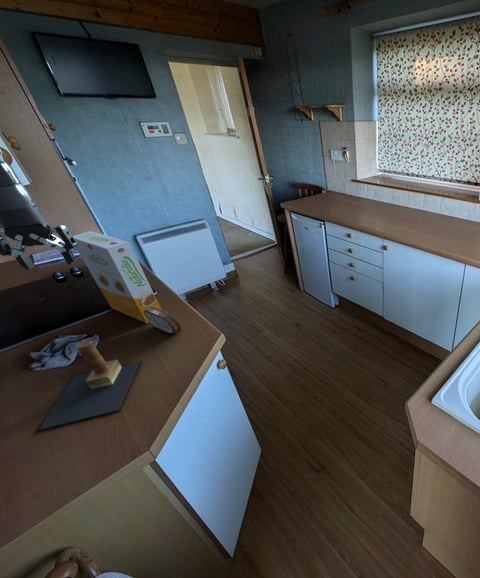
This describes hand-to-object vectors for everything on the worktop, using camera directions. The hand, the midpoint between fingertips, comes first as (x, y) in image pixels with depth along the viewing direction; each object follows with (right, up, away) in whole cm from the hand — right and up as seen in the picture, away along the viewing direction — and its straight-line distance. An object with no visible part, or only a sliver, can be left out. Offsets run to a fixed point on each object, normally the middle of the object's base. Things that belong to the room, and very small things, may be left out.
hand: (52, 265), depth 77 cm
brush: (+7, -32, +8) cm, 34 cm away
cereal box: (-8, -15, +37) cm, 41 cm away
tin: (+10, -21, +28) cm, 36 cm away
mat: (+7, -35, +4) cm, 36 cm away
